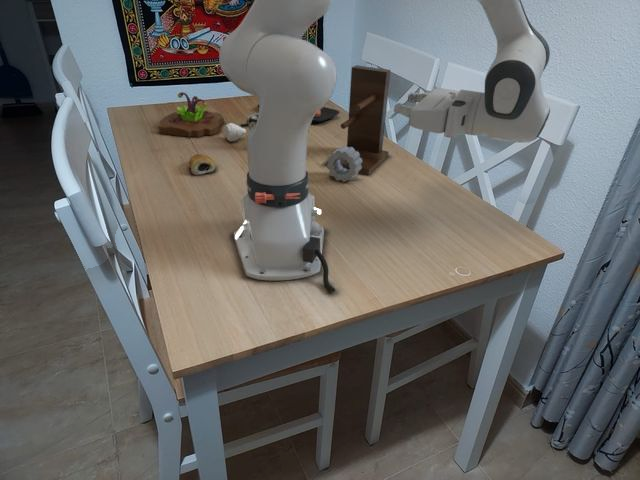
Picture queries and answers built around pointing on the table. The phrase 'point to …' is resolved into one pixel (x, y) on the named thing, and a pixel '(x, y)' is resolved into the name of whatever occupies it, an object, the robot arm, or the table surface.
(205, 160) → the pastry
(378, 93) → the stand
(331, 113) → the sushi plate
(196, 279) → the table surface
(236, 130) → the white cream swirl
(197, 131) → the plant
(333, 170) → the grey knurled ring
